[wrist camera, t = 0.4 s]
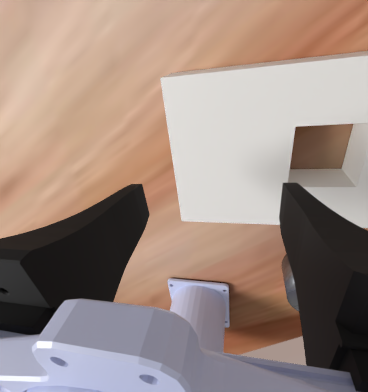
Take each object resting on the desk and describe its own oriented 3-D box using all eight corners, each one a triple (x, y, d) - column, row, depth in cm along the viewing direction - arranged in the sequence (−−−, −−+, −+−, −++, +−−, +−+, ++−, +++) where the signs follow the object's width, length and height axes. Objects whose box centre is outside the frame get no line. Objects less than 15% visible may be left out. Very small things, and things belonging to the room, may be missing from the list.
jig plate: (366, 206, 21) (383, 228, 18) (187, 202, 24) (181, 221, 22) (424, 44, 14) (462, 45, 12) (171, 73, 18) (160, 77, 16)
